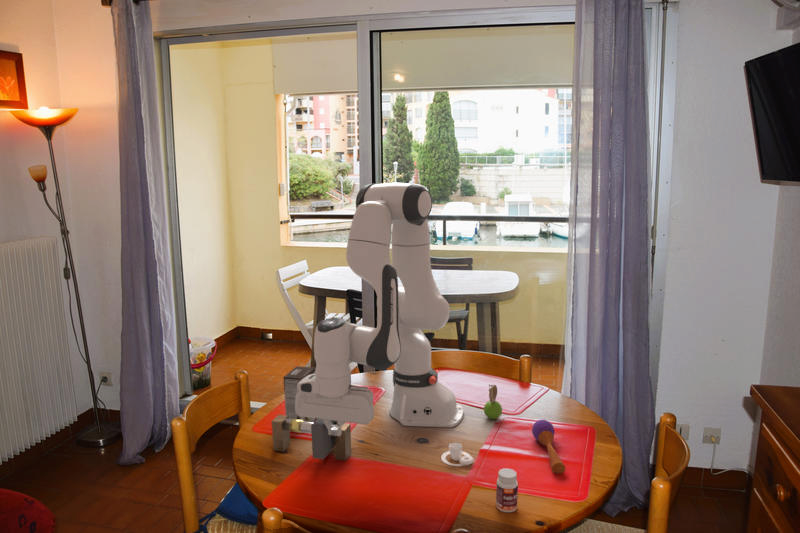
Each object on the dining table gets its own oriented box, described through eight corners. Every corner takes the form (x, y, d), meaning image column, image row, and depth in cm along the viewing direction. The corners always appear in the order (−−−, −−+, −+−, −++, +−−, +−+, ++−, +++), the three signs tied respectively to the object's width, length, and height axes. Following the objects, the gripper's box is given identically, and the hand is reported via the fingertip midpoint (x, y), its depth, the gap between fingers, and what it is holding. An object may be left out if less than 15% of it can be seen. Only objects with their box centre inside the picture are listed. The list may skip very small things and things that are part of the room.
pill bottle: (504, 515, 129) (505, 480, 128) (491, 503, 133) (492, 470, 132) (521, 509, 131) (522, 475, 130) (509, 498, 135) (509, 465, 134)
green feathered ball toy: (480, 421, 173) (481, 383, 171) (486, 413, 179) (486, 375, 177) (499, 424, 171) (499, 386, 169) (503, 415, 177) (504, 378, 175)
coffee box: (299, 414, 180) (296, 365, 176) (318, 417, 178) (316, 367, 175) (285, 428, 171) (282, 376, 168) (306, 430, 169) (303, 378, 166)
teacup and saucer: (477, 466, 150) (478, 451, 149) (448, 471, 148) (448, 456, 147) (464, 450, 158) (464, 436, 157) (436, 454, 156) (436, 440, 155)
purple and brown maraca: (544, 460, 144) (528, 417, 164) (548, 480, 146) (531, 436, 165) (569, 456, 144) (550, 414, 163) (572, 476, 146) (553, 432, 165)
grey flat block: (344, 434, 162) (343, 403, 160) (323, 459, 149) (322, 426, 147) (334, 432, 163) (332, 402, 161) (312, 457, 149) (311, 425, 148)
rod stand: (351, 453, 156) (350, 423, 155) (345, 460, 153) (344, 430, 151) (280, 443, 162) (278, 414, 161) (273, 450, 159) (271, 420, 157)
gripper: (377, 382, 146) (378, 434, 149) (302, 375, 151) (304, 424, 154) (368, 392, 140) (369, 446, 143) (290, 384, 146) (293, 435, 148)
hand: (335, 434), depth 148 cm, fingers closed
